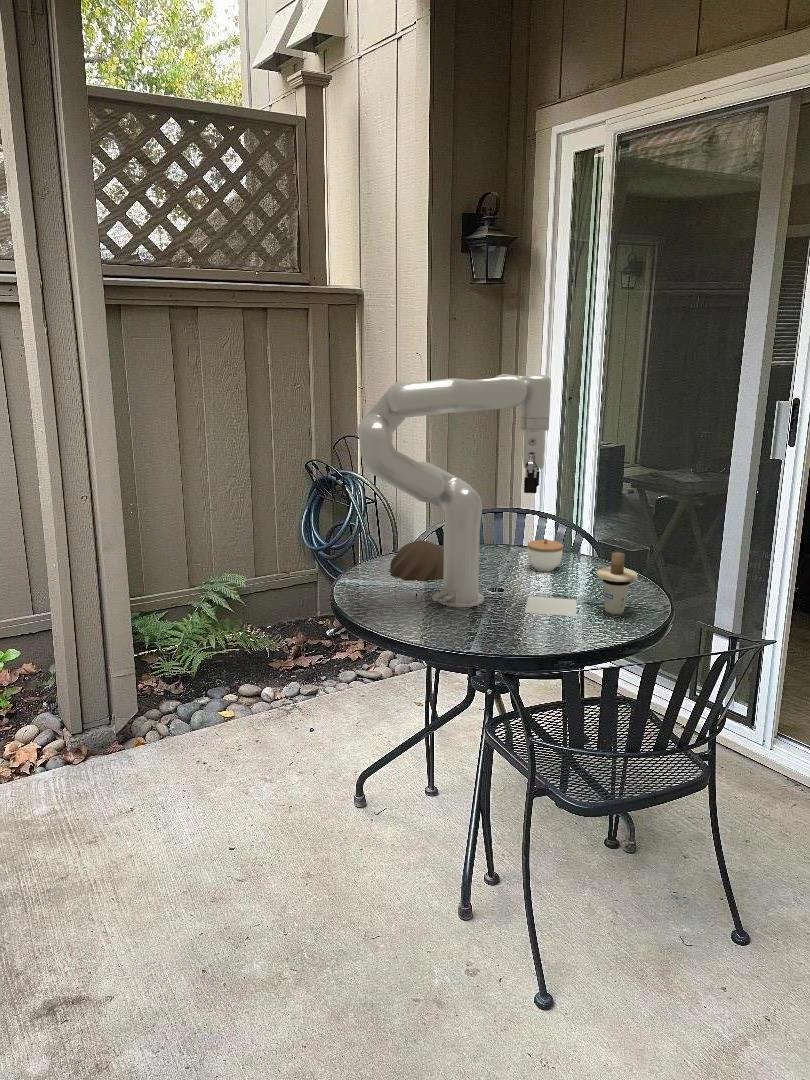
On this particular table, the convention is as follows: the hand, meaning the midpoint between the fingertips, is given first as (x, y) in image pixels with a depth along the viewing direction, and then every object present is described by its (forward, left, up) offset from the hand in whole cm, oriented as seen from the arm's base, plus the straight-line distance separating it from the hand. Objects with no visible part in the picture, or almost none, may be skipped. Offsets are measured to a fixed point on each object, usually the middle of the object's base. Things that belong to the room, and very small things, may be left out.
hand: (531, 489), depth 205 cm
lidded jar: (+27, +12, -31) cm, 42 cm away
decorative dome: (-1, +37, -31) cm, 49 cm away
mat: (-2, -9, -30) cm, 32 cm away
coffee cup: (+6, -23, -31) cm, 39 cm away
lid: (+6, -23, -20) cm, 31 cm away
